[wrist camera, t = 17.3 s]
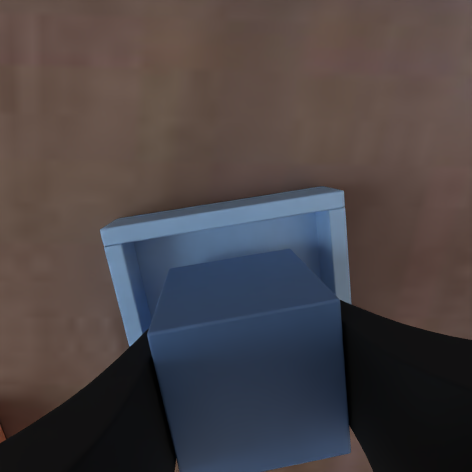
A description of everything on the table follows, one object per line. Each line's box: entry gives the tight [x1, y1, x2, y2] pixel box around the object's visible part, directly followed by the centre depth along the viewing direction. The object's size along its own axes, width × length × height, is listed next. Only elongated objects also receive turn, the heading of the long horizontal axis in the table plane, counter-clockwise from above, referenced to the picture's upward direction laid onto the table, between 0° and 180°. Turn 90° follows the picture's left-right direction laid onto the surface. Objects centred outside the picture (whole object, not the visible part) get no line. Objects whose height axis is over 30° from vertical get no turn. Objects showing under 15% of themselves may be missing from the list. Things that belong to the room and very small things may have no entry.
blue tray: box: [100, 186, 351, 347], centre depth 12 cm, size 8×8×2 cm
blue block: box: [147, 249, 351, 472], centre depth 10 cm, size 4×4×4 cm
